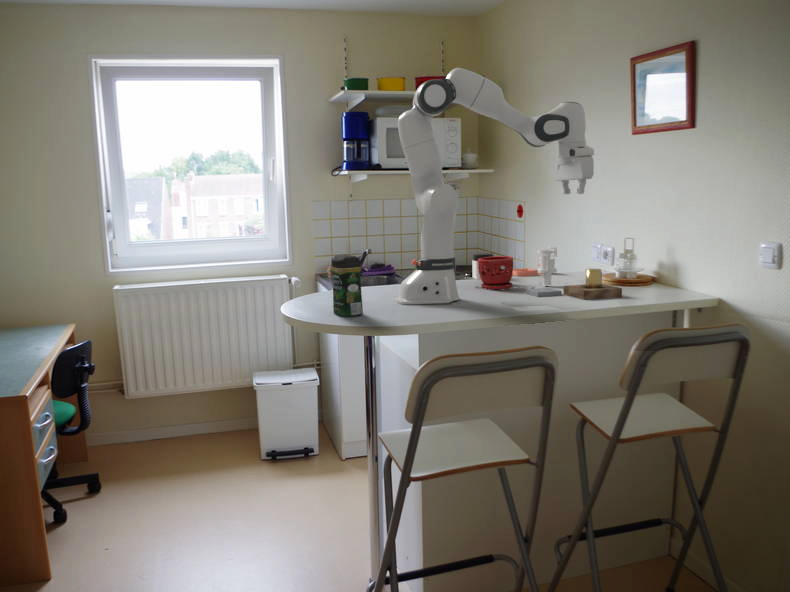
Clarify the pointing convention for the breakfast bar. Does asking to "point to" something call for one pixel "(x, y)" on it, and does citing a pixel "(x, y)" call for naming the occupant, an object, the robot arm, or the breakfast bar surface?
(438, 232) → the robot arm
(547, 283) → the grey tall piece
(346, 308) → the coffee jar
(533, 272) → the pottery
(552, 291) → the slate coaster
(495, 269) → the plant pot
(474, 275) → the jar
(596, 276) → the brass peg
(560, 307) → the breakfast bar surface
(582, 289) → the eye block
